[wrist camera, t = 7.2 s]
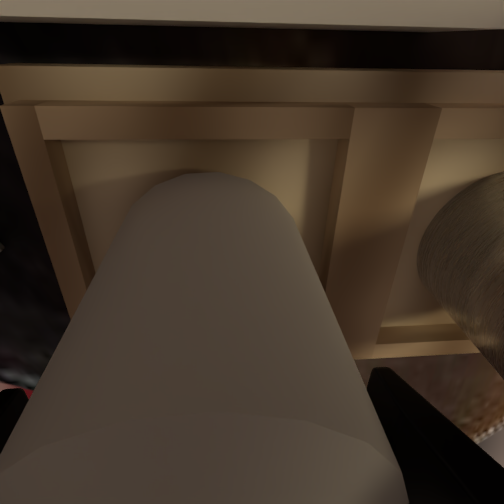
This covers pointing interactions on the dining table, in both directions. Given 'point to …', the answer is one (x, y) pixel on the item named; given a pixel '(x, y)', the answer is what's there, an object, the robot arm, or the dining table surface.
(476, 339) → the steel billet
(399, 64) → the dining table surface
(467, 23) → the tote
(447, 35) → the dining table surface
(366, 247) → the wooden divided tray
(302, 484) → the can
